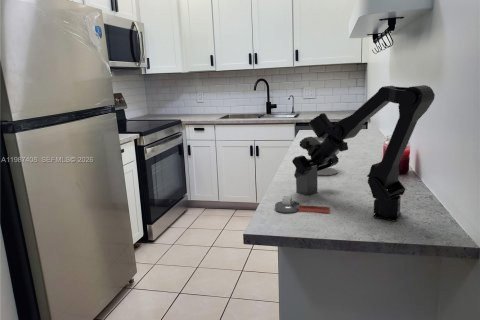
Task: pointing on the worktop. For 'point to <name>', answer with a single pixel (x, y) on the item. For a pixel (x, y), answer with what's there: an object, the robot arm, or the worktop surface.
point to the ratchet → (297, 207)
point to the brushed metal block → (307, 182)
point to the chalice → (328, 170)
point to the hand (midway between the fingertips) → (303, 174)
